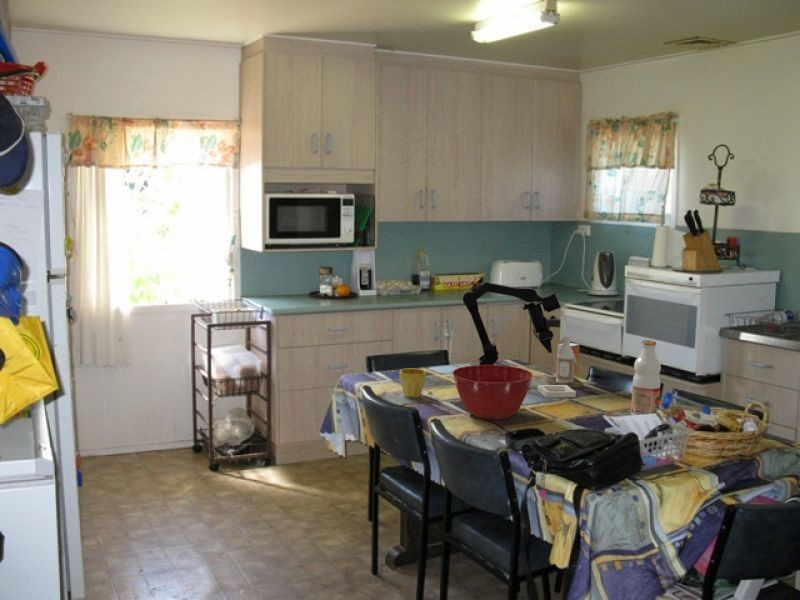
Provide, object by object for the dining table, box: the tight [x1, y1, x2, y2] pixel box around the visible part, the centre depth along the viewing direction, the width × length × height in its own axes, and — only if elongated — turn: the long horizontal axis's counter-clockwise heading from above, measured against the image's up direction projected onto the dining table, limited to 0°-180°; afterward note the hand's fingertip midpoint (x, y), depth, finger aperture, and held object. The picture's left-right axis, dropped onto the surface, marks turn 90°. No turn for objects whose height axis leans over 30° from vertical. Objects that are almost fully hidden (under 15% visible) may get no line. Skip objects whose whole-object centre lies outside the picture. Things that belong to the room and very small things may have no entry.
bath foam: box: [555, 336, 574, 382], centre depth 346 cm, size 7×7×20 cm
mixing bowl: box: [452, 364, 534, 421], centre depth 296 cm, size 28×28×15 cm
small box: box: [556, 342, 580, 375], centre depth 369 cm, size 8×6×13 cm
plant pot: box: [399, 367, 427, 399], centre depth 323 cm, size 10×10×10 cm
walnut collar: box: [546, 375, 584, 389], centre depth 347 cm, size 12×12×2 cm
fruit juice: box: [630, 339, 662, 416], centre depth 294 cm, size 9×9×28 cm
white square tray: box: [537, 384, 577, 398], centre depth 331 cm, size 12×12×2 cm
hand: (548, 350), depth 350 cm, fingers open, 9 cm apart
